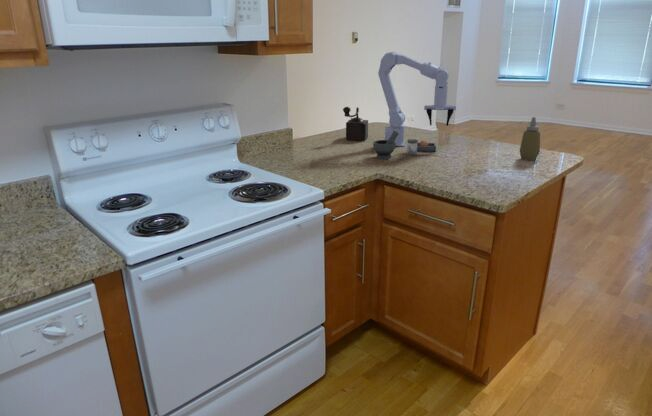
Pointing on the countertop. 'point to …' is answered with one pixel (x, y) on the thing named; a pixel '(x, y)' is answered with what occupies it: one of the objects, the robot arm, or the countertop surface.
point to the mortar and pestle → (385, 146)
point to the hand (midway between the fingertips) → (438, 125)
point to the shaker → (412, 147)
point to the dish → (427, 147)
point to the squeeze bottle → (530, 142)
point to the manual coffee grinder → (355, 126)
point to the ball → (423, 143)
